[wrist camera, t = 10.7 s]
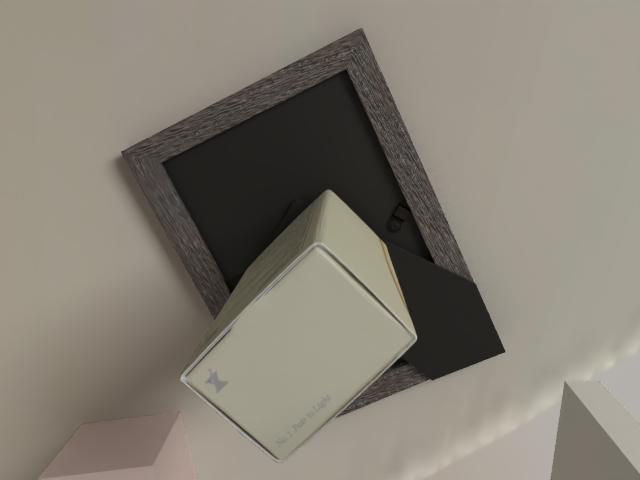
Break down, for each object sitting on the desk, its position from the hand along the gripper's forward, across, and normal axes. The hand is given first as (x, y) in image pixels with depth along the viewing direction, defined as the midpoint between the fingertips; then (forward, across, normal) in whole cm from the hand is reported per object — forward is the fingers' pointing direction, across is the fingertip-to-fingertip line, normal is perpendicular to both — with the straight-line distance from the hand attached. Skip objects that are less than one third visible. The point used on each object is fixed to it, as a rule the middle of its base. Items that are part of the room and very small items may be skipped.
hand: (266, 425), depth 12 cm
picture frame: (+18, +1, -1) cm, 18 cm away
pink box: (+17, -10, -14) cm, 24 cm away
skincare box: (+16, 0, -1) cm, 16 cm away
